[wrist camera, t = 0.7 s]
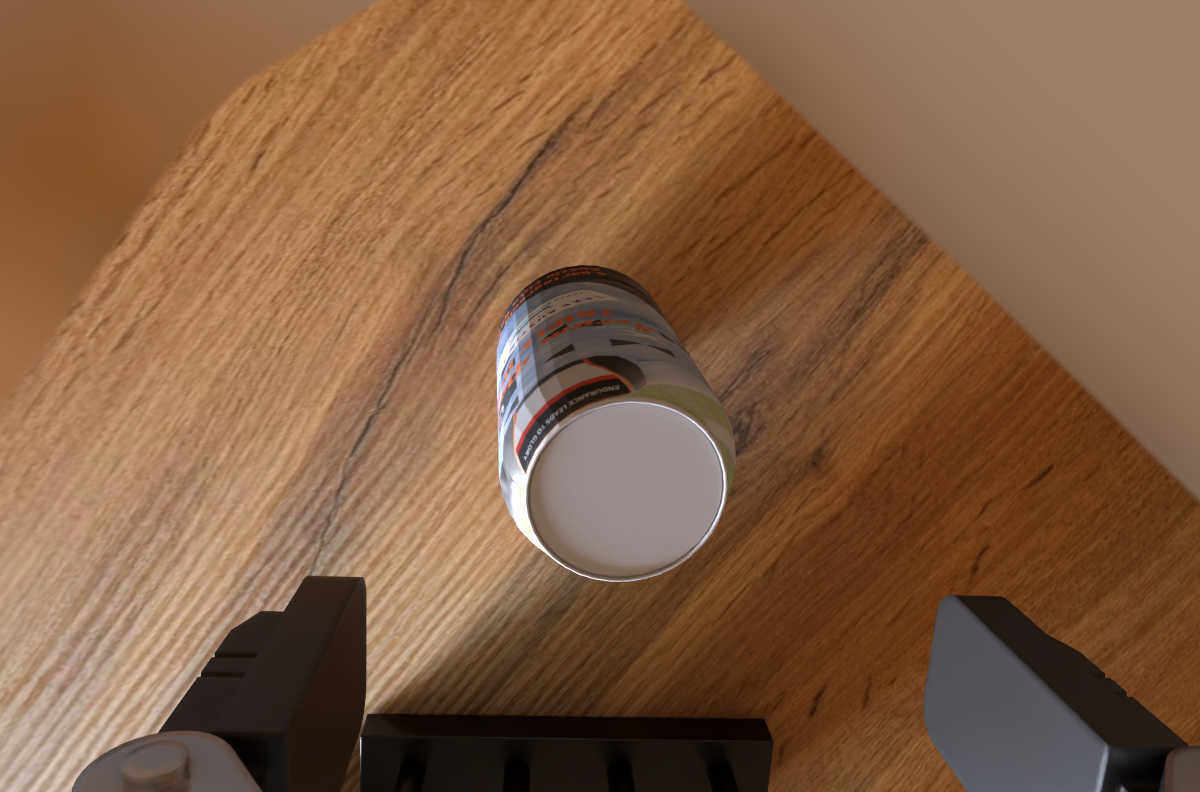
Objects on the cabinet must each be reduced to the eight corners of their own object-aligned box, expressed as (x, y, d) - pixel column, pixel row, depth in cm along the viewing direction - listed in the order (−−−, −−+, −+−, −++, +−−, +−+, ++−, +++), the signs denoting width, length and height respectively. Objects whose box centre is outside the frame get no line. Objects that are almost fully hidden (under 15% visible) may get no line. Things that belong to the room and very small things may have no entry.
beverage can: (611, 229, 31) (652, 255, 19) (712, 401, 32) (807, 522, 21) (460, 321, 31) (410, 404, 20) (568, 486, 33) (581, 652, 21)
